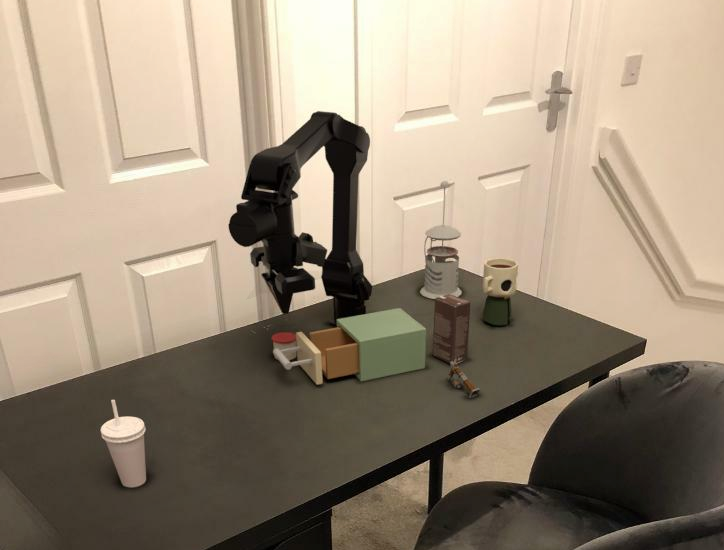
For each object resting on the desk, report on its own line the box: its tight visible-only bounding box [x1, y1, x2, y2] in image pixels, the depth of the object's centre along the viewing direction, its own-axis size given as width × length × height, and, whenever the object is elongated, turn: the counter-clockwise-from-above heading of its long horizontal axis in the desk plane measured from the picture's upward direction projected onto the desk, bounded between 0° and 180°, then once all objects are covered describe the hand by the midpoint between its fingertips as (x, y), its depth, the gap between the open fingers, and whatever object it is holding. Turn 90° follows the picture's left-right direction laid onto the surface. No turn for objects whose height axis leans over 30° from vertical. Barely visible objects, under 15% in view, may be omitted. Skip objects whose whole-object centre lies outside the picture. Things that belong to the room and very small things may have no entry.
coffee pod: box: [271, 331, 297, 361], centre depth 163 cm, size 5×5×4 cm
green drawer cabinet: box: [336, 307, 427, 382], centre depth 159 cm, size 14×12×8 cm
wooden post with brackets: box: [446, 361, 481, 399], centre depth 151 cm, size 2×8×4 cm, turn 35°
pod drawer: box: [272, 326, 359, 385], centre depth 155 cm, size 18×10×6 cm, turn 115°
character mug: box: [482, 257, 519, 326], centre depth 174 cm, size 11×7×13 cm, turn 138°
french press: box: [419, 180, 463, 300], centre depth 186 cm, size 10×12×25 cm
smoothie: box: [100, 399, 147, 488], centre depth 123 cm, size 6×6×14 cm
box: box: [432, 294, 472, 364], centre depth 160 cm, size 6×4×12 cm
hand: (285, 313), depth 154 cm, fingers closed
